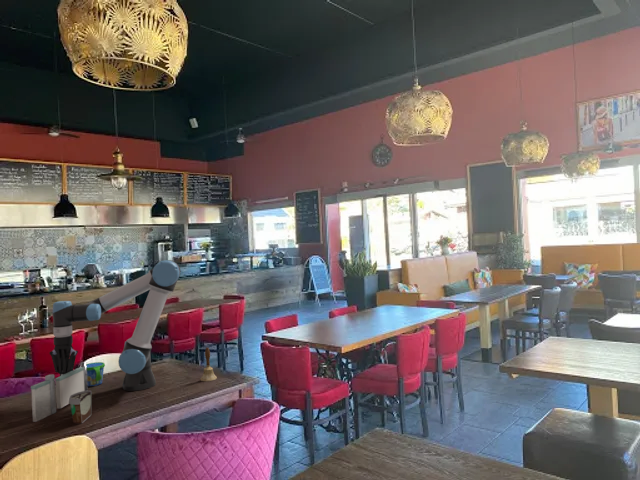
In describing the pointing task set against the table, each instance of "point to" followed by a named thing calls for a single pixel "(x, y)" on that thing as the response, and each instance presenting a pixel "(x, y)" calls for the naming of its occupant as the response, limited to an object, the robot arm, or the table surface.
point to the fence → (48, 396)
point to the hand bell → (208, 369)
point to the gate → (69, 386)
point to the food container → (80, 406)
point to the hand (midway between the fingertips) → (64, 388)
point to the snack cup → (95, 373)
